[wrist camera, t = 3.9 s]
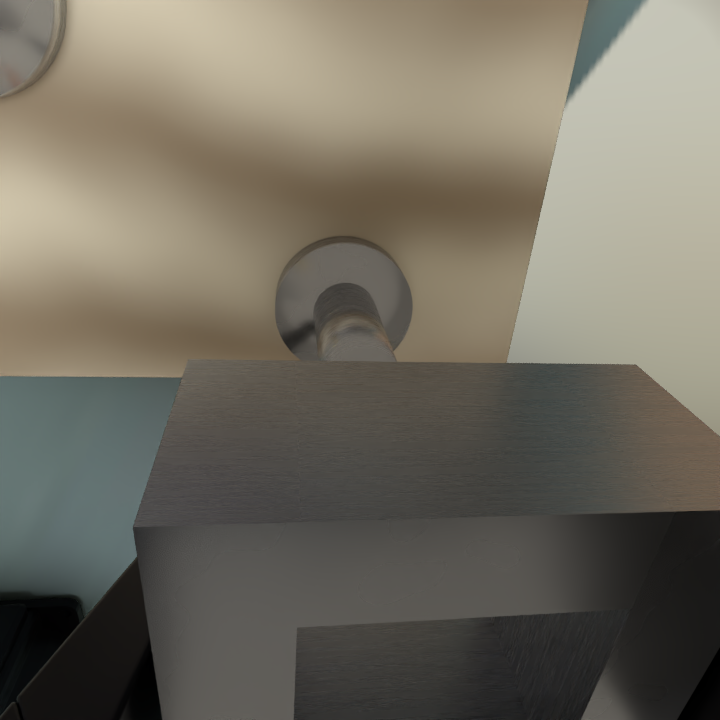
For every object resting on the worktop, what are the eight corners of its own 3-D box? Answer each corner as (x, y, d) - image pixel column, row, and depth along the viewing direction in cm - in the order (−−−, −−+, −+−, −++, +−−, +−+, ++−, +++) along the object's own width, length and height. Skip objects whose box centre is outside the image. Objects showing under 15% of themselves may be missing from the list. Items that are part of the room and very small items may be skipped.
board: (493, 366, 22) (502, 379, 21) (-308, 358, 18) (-339, 373, 17) (600, -129, 15) (620, -141, 14) (-679, -319, 11) (-763, -353, 10)
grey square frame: (537, 643, 11) (615, 822, 8) (211, 664, 10) (185, 872, 8) (636, 364, 8) (803, 508, 6) (188, 359, 7) (133, 526, 5)
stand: (399, 359, 20) (436, 454, 15) (275, 357, 19) (271, 456, 14) (414, 238, 18) (462, 303, 13) (275, 232, 17) (272, 298, 12)
